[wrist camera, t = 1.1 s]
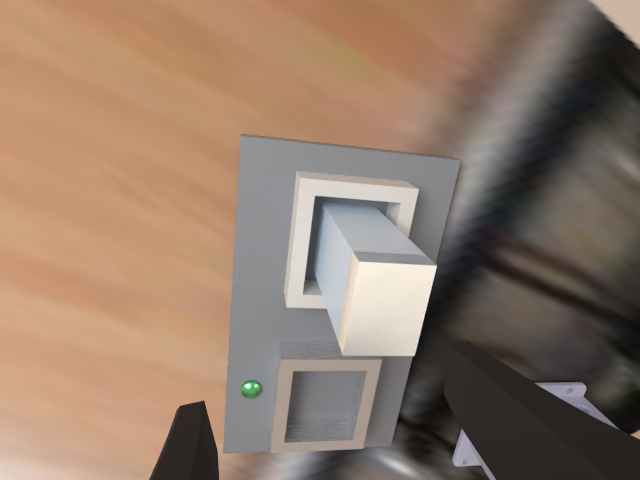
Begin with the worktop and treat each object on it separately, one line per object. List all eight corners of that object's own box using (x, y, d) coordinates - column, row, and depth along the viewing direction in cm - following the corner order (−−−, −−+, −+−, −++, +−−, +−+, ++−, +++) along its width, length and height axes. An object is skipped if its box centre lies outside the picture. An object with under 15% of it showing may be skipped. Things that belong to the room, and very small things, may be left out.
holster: (406, 181, 22) (418, 189, 20) (382, 295, 24) (392, 310, 22) (296, 170, 20) (300, 178, 19) (284, 291, 23) (286, 307, 21)
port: (373, 342, 25) (382, 359, 23) (356, 427, 28) (362, 448, 26) (244, 340, 24) (244, 359, 22) (238, 430, 26) (237, 454, 24)
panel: (452, 157, 23) (461, 160, 22) (386, 435, 30) (390, 446, 29) (241, 133, 20) (240, 136, 19) (224, 441, 27) (223, 453, 26)
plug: (374, 206, 22) (436, 265, 14) (362, 271, 23) (414, 355, 16) (322, 201, 21) (359, 261, 14) (313, 268, 23) (342, 355, 15)
